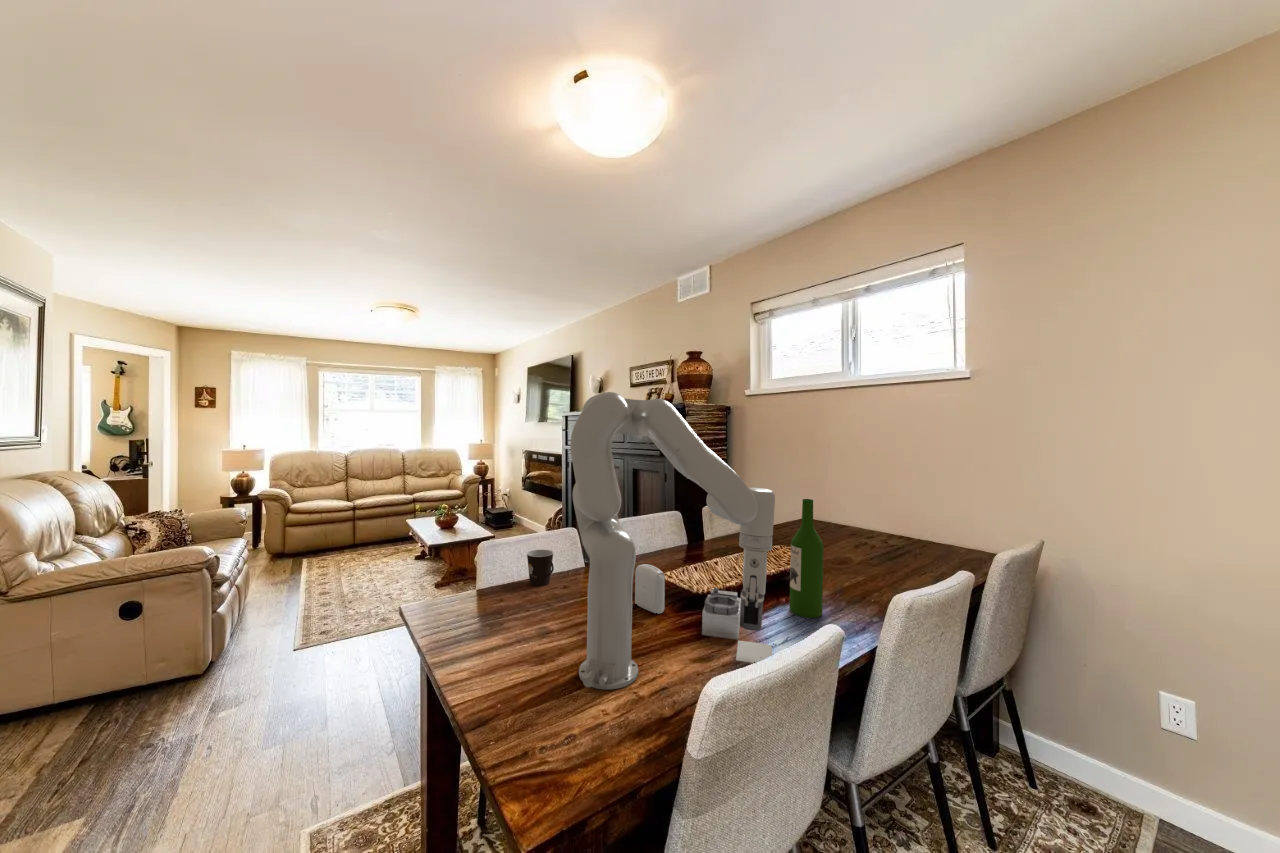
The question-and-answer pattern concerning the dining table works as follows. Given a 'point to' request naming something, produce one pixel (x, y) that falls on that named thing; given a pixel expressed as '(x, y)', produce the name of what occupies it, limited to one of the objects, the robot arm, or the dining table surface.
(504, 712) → the dining table surface
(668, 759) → the dining table surface
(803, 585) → the wine bottle
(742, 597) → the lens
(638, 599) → the photo printer
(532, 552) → the coffee mug
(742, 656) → the mat
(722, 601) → the octagonal socket block
